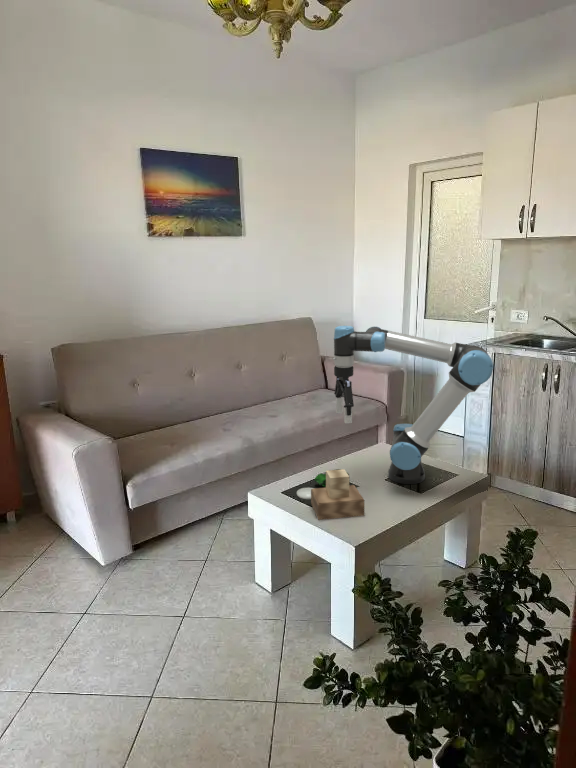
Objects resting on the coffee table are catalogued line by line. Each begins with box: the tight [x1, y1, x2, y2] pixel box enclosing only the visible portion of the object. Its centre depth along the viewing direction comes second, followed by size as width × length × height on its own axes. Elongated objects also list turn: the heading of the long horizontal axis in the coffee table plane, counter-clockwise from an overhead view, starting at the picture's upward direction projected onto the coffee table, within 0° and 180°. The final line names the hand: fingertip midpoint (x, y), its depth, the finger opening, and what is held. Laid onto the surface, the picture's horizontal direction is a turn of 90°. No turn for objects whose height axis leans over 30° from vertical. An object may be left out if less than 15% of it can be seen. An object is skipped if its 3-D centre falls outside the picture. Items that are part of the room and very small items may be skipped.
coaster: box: [296, 487, 315, 500], centre depth 210 cm, size 9×9×1 cm
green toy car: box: [314, 468, 350, 488], centre depth 218 cm, size 7×16×5 cm, turn 119°
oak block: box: [325, 468, 350, 499], centre depth 194 cm, size 7×7×8 cm
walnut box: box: [310, 484, 365, 521], centre depth 196 cm, size 17×13×6 cm
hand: (343, 417), depth 211 cm, fingers open, 13 cm apart
